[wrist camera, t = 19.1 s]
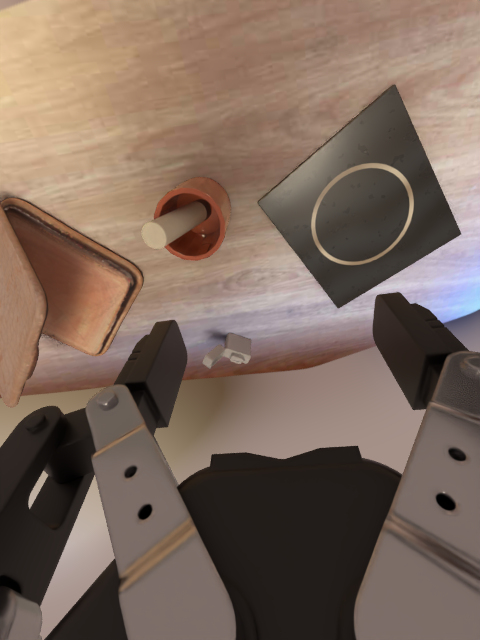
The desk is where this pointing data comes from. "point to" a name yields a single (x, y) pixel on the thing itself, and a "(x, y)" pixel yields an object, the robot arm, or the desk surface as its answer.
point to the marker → (175, 224)
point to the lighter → (230, 351)
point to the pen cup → (209, 232)
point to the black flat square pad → (363, 203)
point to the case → (55, 292)
